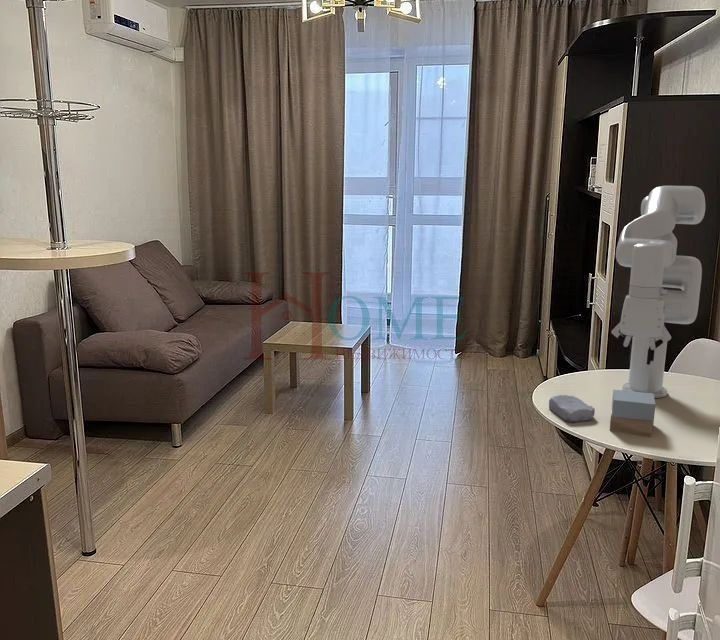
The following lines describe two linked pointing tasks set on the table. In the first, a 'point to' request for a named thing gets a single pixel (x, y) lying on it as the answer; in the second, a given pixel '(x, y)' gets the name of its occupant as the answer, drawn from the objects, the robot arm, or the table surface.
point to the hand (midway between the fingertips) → (638, 361)
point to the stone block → (571, 408)
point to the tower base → (631, 426)
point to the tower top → (633, 405)
